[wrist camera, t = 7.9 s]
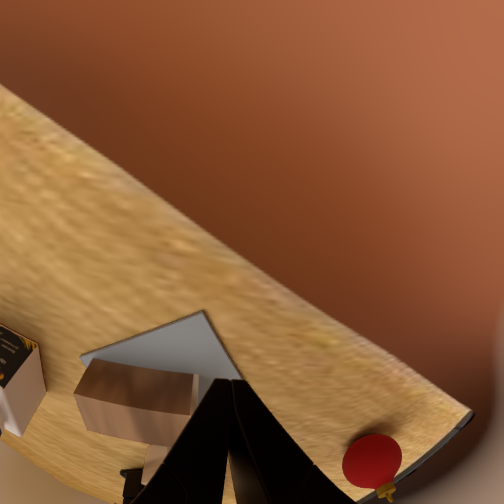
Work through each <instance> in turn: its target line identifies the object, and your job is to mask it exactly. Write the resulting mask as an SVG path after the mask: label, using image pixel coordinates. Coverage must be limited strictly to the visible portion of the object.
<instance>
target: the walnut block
mask: <svg viewBox="0 0 504 504" xmlns="http://www.w3.org/2000/svg"><path fill="white" fill-rule="evenodd" d="M198 383H199V374H189V373H180V372H171V371H164V370H156V369H150V368H143V367H137V366H131V365H125V364H120V363H115V362H110V361H105V360H100V359H95V358H92V360H91V362H90V364H89V365H88V367H87V369H86V371H85V373H84V374H83V376H82V378H81V380H80V382H79V384H78V386H77V387H76V389H75V391H74V393H73V394H74V397H75V400H76V402H77V405H78V408H79V411H80V413H81V416H82V418H83V421H84V423H85V426H86V428H87V430H89V431H93V432H96V433H100V434H104V435H108V436H112V437H117V438H121V439H126V440H131V441H136V442H141V443H147V444H153V445H159V446H166V447H172V446H173V444H174V443H175V441H176V440H177V438H178V437H179V435H180V433H181V432H182V430H183V429H184V427H185V425H186V424H187V422H188V421H189V419H190V417H191V416H192V414H193V412H194V411H195V409H196V408H197V406H198Z"/></svg>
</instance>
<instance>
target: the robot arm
mask: <svg viewBox="0 0 504 504" xmlns="http://www.w3.org/2000/svg"><path fill="white" fill-rule="evenodd" d="M227 457H229V463H230V469H231V475H232V481H233V486H234V491H235V497H236V502H237V504H358V503H356V502H355V501H354V500H352V499H351V498H350V497H349V496H347V495H346V494H345V493H344V492H343V491H341V490H340V489H339V488H338V487H337V486H336V485H335V484H334V483H333V482H332V481H331V480H330V479H329V478H328V477H327V476H326V475H325V474H324V473H323V472H322V471H321V470H320V469H319V468H318V467H317V466H316V465H313V464H314V463H313V461H312V460H311V459H310V458H309V457H308V456H307V455H306V454H305V452H304V451H303V450H302V449H301V448H300V447H299V446H298V444H297V443H296V442H295V441H294V440H293V439H292V437H291V436H290V435H289V434H288V433H287V431H286V430H285V429H284V428H283V427H282V425H281V424H280V423H279V422H278V421H277V419H276V418H275V417H274V416H273V414H272V413H271V412H270V411H269V409H268V408H267V407H266V406H265V404H264V403H263V402H262V401H261V399H260V398H259V397H258V395H257V394H256V393H255V392H254V390H253V389H252V388H251V386H250V385H249V384H248V382H247V381H246V380H244V379H231V380H229V379H226V378H215V379H214V380H213V381H212V383H211V385H210V386H209V388H208V390H207V391H206V393H205V395H204V396H203V398H202V399H201V401H200V403H199V404H198V406H197V408H196V409H195V411H194V412H193V414H192V416H191V417H190V419H189V421H188V422H187V424H186V425H185V427H184V429H183V430H182V432H181V433H180V435H179V437H178V438H177V440H176V441H175V443H174V444H173V446H172V448H171V449H170V451H169V452H168V454H167V455H166V457H165V458H164V460H163V463H161V464H160V466H159V467H158V469H157V470H156V472H155V473H154V475H153V476H152V478H151V479H150V480H149V482H148V483H147V485H146V486H145V485H143V484H141V481H142V475H143V470H129V471H120V475H121V476H123V477H124V478H126V480H125V485H124V490H123V495H122V496H123V497H124V499H123V504H222V498H223V490H224V482H225V474H226V466H227ZM114 504H115V503H114Z"/></svg>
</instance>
